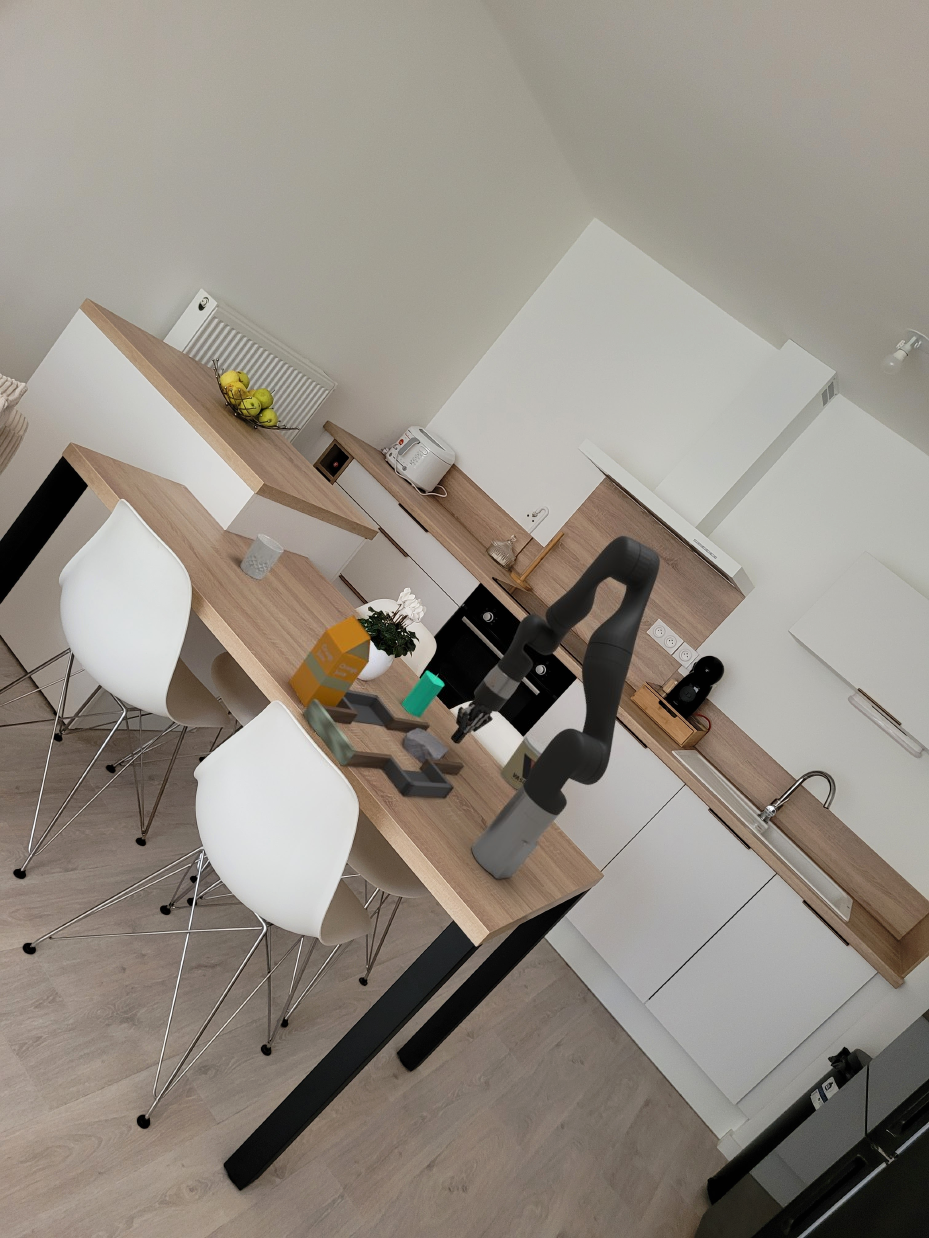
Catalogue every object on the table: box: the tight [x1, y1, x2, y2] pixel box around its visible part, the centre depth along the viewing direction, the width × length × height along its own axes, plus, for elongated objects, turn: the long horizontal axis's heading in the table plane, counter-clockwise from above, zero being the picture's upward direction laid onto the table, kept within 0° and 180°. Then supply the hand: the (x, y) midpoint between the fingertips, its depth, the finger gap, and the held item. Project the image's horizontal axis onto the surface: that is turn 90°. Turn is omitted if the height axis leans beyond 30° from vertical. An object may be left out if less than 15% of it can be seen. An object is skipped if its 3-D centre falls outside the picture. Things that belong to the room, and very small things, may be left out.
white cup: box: [239, 533, 284, 581], centre depth 221 cm, size 8×8×10 cm
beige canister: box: [500, 734, 548, 791], centre depth 214 cm, size 9×9×12 cm
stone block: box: [402, 728, 449, 765], centre depth 192 cm, size 12×5×10 cm
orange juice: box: [288, 614, 372, 708], centre depth 176 cm, size 8×9×20 cm
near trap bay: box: [381, 757, 455, 799], centre depth 175 cm, size 8×15×3 cm, turn 137°
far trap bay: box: [336, 689, 396, 727], centre depth 188 cm, size 8×15×3 cm, turn 137°
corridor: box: [302, 699, 465, 776], centre depth 181 cm, size 15×41×4 cm, turn 137°
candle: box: [401, 670, 445, 718], centre depth 210 cm, size 6×6×12 cm
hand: (454, 741), depth 200 cm, fingers closed
